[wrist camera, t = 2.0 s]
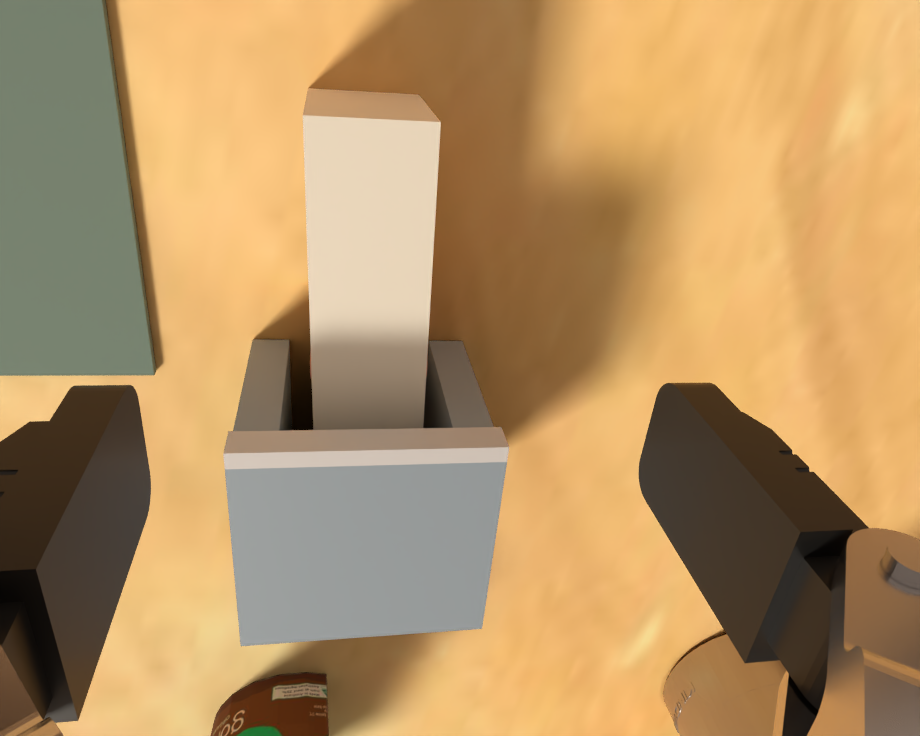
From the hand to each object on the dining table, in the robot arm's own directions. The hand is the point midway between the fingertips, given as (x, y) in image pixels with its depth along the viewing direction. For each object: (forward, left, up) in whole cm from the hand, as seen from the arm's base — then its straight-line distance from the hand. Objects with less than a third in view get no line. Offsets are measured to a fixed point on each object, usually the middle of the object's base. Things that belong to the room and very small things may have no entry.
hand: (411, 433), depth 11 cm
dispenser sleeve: (0, +12, -18) cm, 21 cm away
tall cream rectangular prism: (0, +3, -18) cm, 19 cm away
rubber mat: (+12, +2, -18) cm, 22 cm away
